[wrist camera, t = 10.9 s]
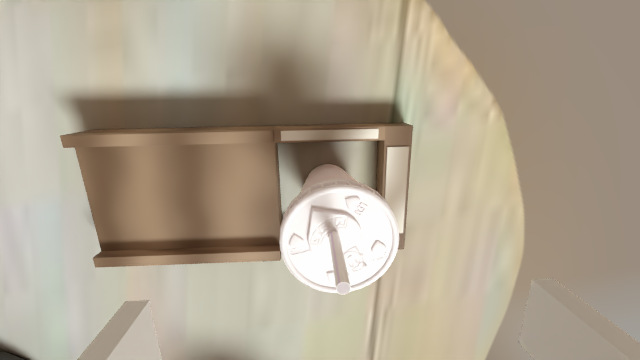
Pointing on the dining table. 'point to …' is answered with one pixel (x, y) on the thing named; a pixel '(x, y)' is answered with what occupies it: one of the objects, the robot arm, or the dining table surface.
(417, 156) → the dining table surface
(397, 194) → the rail board
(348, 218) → the smoothie
